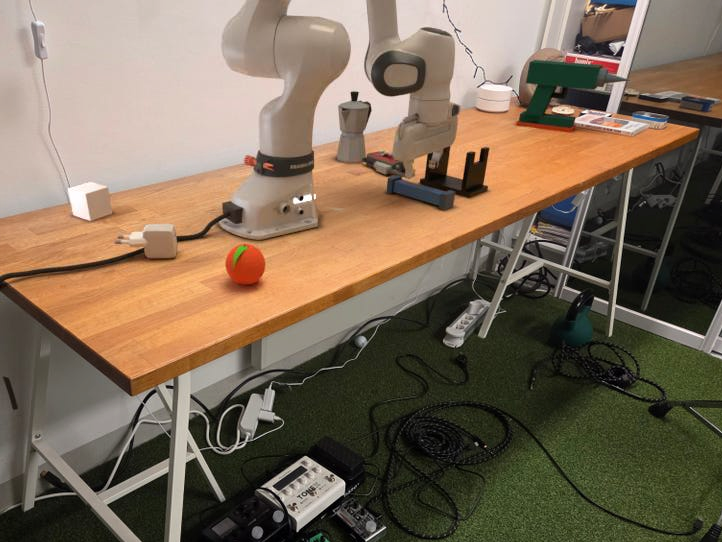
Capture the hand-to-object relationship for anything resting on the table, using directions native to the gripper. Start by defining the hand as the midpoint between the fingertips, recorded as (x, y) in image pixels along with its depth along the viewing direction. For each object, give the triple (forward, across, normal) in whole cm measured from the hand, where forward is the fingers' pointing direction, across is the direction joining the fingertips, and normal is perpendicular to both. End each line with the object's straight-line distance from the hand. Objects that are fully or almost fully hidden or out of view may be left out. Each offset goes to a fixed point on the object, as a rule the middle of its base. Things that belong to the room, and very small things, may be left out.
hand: (421, 172), depth 143 cm
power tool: (+9, +95, +7) cm, 96 cm away
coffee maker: (+7, +15, +34) cm, 38 cm away
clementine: (+5, -60, -6) cm, 61 cm away
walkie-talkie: (+7, +12, +18) cm, 23 cm away
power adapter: (+5, -66, +16) cm, 68 cm away
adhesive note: (+5, -62, +44) cm, 76 cm away
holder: (+6, +13, -1) cm, 14 cm away
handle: (+6, -1, -1) cm, 6 cm away
